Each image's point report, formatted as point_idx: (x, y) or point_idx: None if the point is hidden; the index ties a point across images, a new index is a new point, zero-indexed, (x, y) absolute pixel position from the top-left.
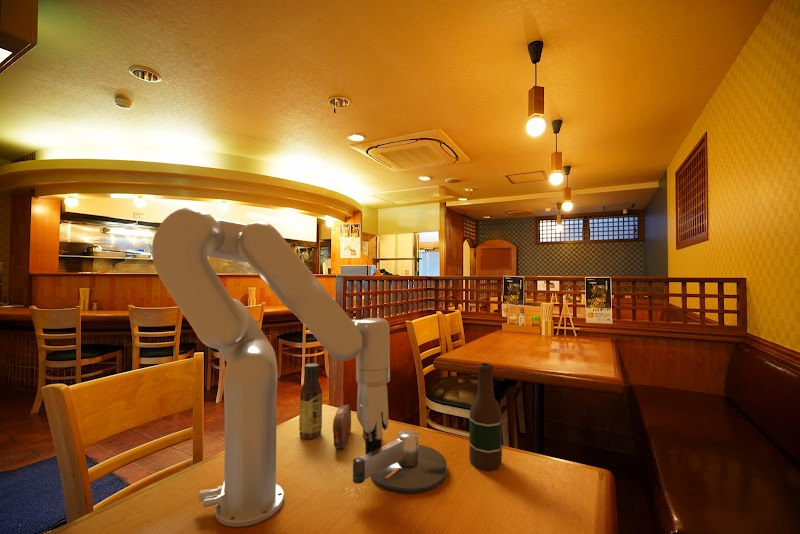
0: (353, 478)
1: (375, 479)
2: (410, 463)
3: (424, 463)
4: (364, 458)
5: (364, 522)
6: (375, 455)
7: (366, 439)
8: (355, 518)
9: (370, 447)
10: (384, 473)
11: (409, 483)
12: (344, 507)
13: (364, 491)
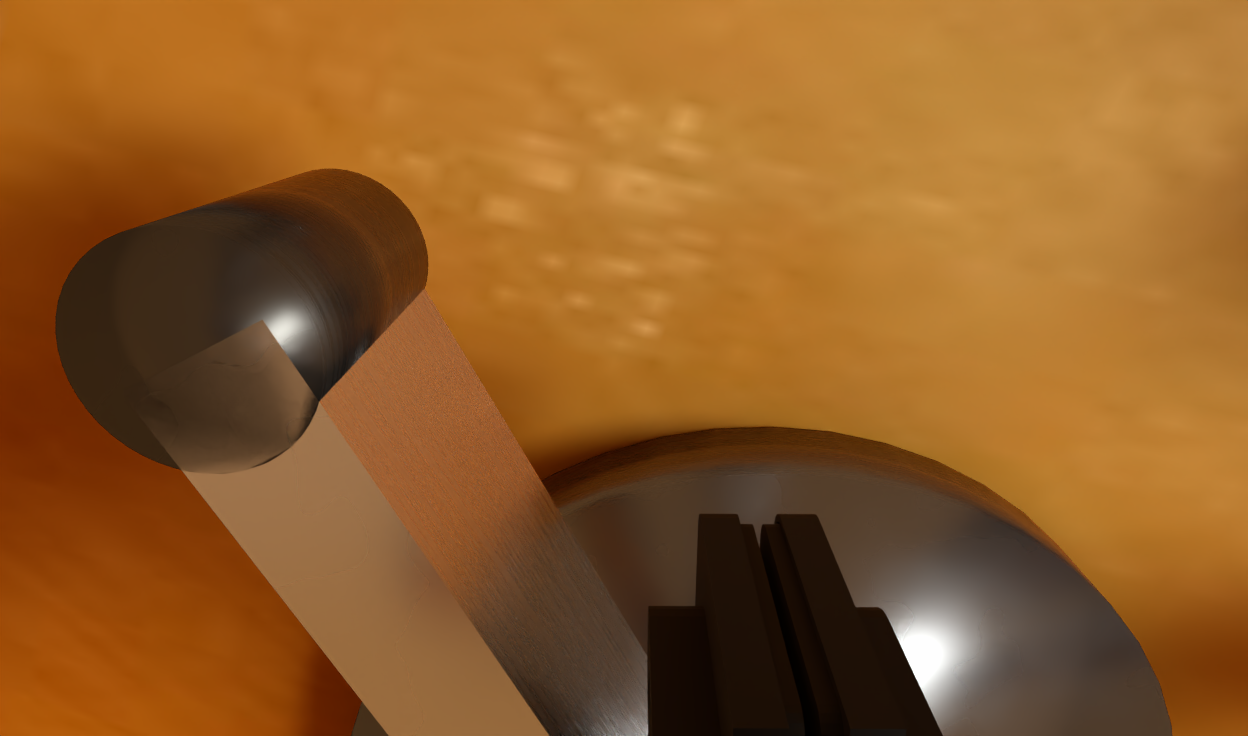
0: (287, 178)
1: (641, 463)
2: None
3: None
4: (255, 480)
5: (47, 178)
6: (360, 679)
7: (843, 730)
8: (119, 103)
9: (710, 675)
10: (630, 582)
11: (369, 733)
12: (324, 21)
13: (550, 303)
